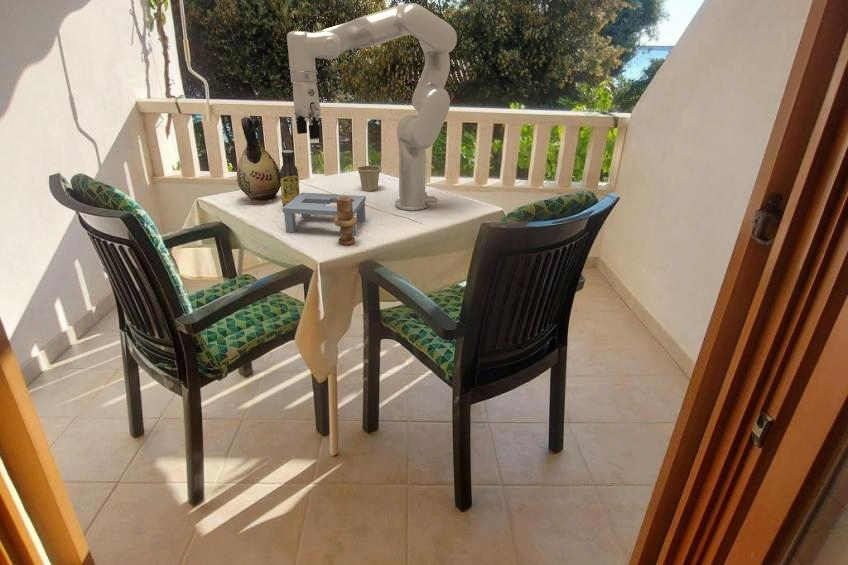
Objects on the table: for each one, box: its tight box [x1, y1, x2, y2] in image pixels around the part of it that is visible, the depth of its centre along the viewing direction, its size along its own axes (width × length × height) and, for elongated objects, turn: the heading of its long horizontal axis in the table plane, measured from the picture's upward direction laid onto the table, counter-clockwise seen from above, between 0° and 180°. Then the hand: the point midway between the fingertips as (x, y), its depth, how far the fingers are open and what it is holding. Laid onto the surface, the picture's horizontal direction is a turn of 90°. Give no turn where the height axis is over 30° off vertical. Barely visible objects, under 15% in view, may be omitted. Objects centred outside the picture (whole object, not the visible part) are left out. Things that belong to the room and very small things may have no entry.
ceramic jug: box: [236, 116, 281, 204], centre depth 176 cm, size 17×15×30 cm
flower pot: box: [356, 165, 382, 192], centre depth 197 cm, size 9×9×9 cm
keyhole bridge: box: [281, 192, 367, 238], centre depth 158 cm, size 17×22×8 cm
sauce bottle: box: [279, 149, 301, 208], centre depth 172 cm, size 6×6×20 cm
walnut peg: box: [334, 197, 358, 246], centre depth 144 cm, size 6×6×14 cm
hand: (308, 135), depth 156 cm, fingers open, 9 cm apart
